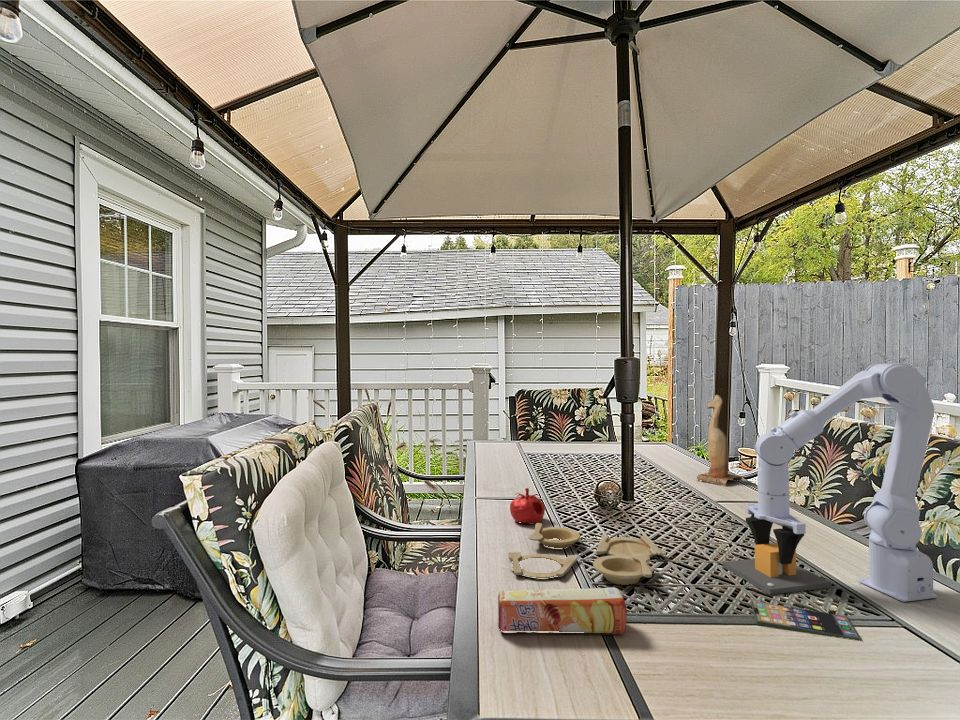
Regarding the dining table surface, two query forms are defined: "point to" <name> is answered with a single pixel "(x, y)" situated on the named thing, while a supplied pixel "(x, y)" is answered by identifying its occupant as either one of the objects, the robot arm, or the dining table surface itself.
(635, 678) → the dining table surface
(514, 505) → the pomegranate
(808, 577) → the plate
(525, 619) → the snack package
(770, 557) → the orange block
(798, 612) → the smartphone
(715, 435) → the bird sculpture
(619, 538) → the tableware set
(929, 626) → the dining table surface
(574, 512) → the dining table surface
